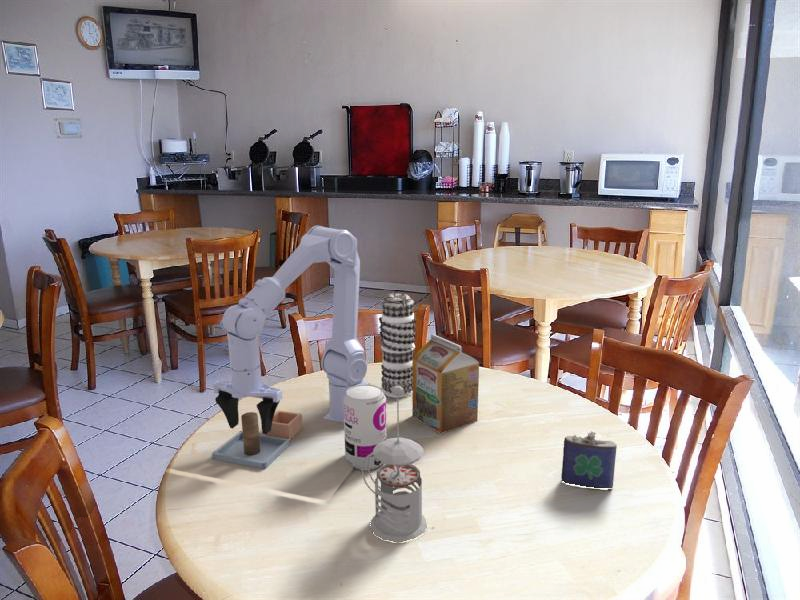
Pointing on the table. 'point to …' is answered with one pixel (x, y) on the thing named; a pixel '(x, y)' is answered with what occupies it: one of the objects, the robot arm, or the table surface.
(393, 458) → the french press
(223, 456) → the tray
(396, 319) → the decorative candle
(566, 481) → the flask
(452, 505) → the table surface
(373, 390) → the supplement can
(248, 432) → the dowel
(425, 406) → the milk carton
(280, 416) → the hollow square block
